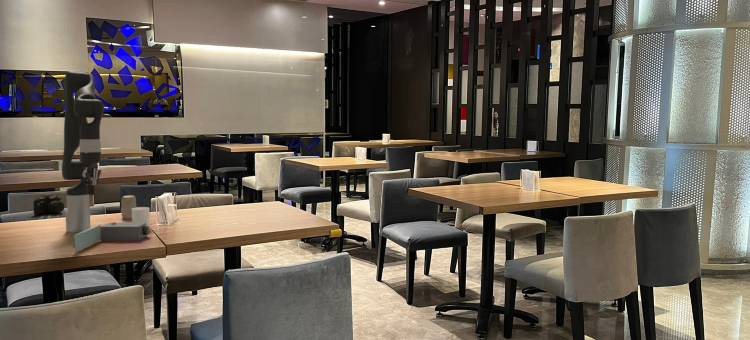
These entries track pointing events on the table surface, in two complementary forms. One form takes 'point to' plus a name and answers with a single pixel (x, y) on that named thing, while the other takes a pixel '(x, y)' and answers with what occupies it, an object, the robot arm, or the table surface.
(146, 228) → the camera housing
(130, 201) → the carving
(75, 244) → the side door
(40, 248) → the table surface
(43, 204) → the film camera
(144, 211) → the white cup
